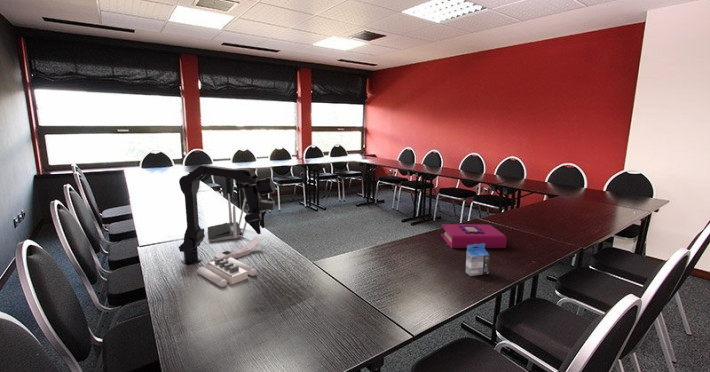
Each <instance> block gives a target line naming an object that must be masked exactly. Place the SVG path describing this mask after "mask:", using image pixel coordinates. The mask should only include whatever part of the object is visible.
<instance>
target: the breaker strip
mask: <svg viewBox="0 0 710 372" xmlns="http://www.w3.org/2000/svg"><path fill="white" fill-rule="evenodd" d="M213 259H214V261H212V262H211V261H207V262H206V269H208V270H210V271H211V272H213V273H215V274H216V275H218V276H220V277H222V278H223V279H225V280H226V281H227V283H229V284H230V285H235V284H236V283H239V282H242V281H245V280H246V279H248V278H249V274H248V273H247V271H246V270H244V269H242V268H240V267H239V266H238V265H234V263H232V262H229V261H228V260H224V258H222V257H221V258H217V259H215V258H213Z"/></svg>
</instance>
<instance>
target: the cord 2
mask: <svg viewBox="0 0 710 372" xmlns="http://www.w3.org/2000/svg"><path fill="white" fill-rule="evenodd" d="M228 261H229V262H232V263H234V265H238V266H239V267H240V268H242V269H244V270H246V271H247V273H248V276H251V277H254V276H256V275H257V269H255V268H253V267H252V266H249V265H248V264H246V263H244V262H242V261H239V260H237V258H235V259H234V258H231V257H230V258H228Z"/></svg>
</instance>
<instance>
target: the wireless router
mask: <svg viewBox="0 0 710 372" xmlns="http://www.w3.org/2000/svg"><path fill="white" fill-rule="evenodd" d="M230 195H231V194H230V193H227V201H228V221H229V222H223V223H220V224H215V225H211V226H210V225H209V226H208V227H207V236H208V237H207V238H208V240H210V242H217V241H225V240H226V241H227V240H232V239H233V240H234V239H239V238H240V236H241V237H243V236H244V235H245V232H246V227H247V224H248V223H247V222H245V221H244V225H243V228H242V230H241V227H240V226H241V222H242V219H243V214H244V210H245V206H246V203H245V201H246V198H245V197H244V199H243V204H242V207H241V211H240V216H239V220H238V222H237V218H236V217H237V216H236V205H233V206H232V204H231V196H230Z"/></svg>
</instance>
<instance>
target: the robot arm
mask: <svg viewBox="0 0 710 372" xmlns="http://www.w3.org/2000/svg"><path fill="white" fill-rule="evenodd" d="M205 176H214V177H220V178H227V179H228V178H229V179H232V180H234V181H236V182H239V186H238V187H237V190H242V191H243V195H244V198H246V201H245V205H246V206H247V209H248V210H247V213H246V214H245V216H244V217H243V218H244V223H245V222H247V224H248V225H249V226H250V227H251V228H252V229H253V230H254V231H255V232H256V234H257V235H261V234H262V233H261V231H262V230H261V229H265V227H266V226H265V225H266V223H265V216H266V214H267V212H268V210H269V211H273V210H274V209H275V202H276V201H275V200H274V199H273V197H268V198H267V199H263V198H262V197H261V196H260V195H262V196H264V195H269V194H274V193H275V192H276V184H275V182H274V180H273V179H272V177H271V176H269V177H266V178H265V177H264V178H261V177H260V176H258V174H256V173H255V170H253V168H251V167H240V168H230V167H225V166H224V167H223V166H218V165H217V166H215V165H211V164H210V165H209V164H207V163H205V164H204V163H203V164H201V165H198V167H196V168H195V169H194V170H192V171H190V172H189V173H187V174H186V175H182V176H181V177H180V178H179V180H178V184H179V188H180V190H181V192H182V194H183V195H184V204H185V205H184V206H185V217H186V218H185V219H186V229H185V231H184V235H183V242H182V243H181V244H180V245H179V246H178V250H179V252H180V253H181V252H182V253H183V259H181V261H180V262H182V263H183V264H185V266H186V265H187V266H189V265H192V264H196V263H200V262H202V259H201V258H199V251H198V247H199V246H201V243H202V242H203V241H204V239H205V237H206V234H205V228H201V226H200V223H199V222H200V221H199V209H198V207H199V206H198V192H199V189H200V185H201V184H200V182H201V181H202V179H204V178H205Z"/></svg>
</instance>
